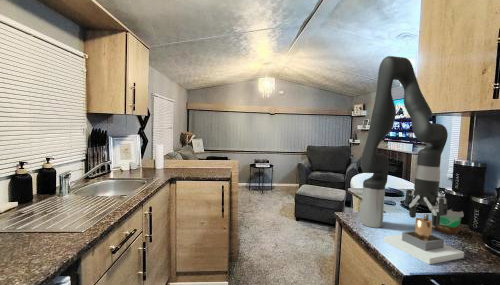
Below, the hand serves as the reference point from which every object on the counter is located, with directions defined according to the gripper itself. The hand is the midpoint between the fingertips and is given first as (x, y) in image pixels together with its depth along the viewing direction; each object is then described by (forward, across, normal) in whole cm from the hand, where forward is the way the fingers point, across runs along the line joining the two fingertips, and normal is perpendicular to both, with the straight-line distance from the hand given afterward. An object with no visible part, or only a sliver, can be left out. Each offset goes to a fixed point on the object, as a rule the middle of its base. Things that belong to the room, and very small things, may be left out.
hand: (423, 221), depth 97 cm
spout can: (+8, 0, 0) cm, 8 cm away
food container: (+11, -10, +28) cm, 31 cm away
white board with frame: (+10, 0, 0) cm, 10 cm away
